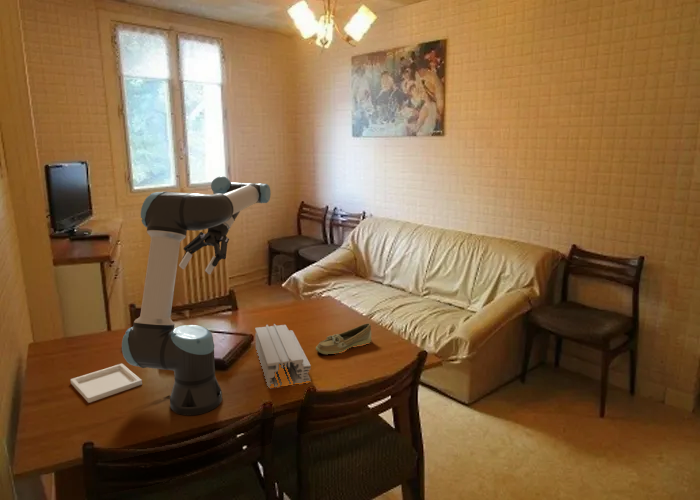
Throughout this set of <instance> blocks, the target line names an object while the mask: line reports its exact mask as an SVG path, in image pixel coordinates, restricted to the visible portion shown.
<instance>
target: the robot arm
mask: <svg viewBox="0 0 700 500" xmlns="http://www.w3.org/2000/svg"><path fill="white" fill-rule="evenodd" d="M210 188H211V191H212V193H213V194H208V193H196V192H178V191H177V192H176V191H156V192H155V191H154V192H152V193H150V194H149V195H147V197H146V198H145V199H144V201H143V203H142V205H141V209H140V218H141V223H142V224H143V226H144V227H145V228H146V233H147V235H148V236H149V238H150V243H149V251H148V258H147V266H146V271H145V272H146V274H145V280H144V287H143V294H142V299H141V300H142V302H141V307H140V316H139V317H138V318H135V320H134V321H133V326H132V327H129V328H127V329H126V331H125V334H124V335H123V337H122V340H121V352H122V356H123V358H124V359H125V361H126V363H128V364H129V365H131V366H134V367H139V368H141V369H145V368H146V369H155V370H156V369H157V370H163V371H164V370H165V371H173V372H174V373H173V375H174V382H173V387H172V390H171V393H170V397H169V404H170V405H169V407H170V409H171V411H173V412H174V413H175V414H179V415H182V416H197V415H202V414H205V413H209V412H211V411H213V410H215V409H216V408H217V407H218V406H220V405H221V403H222V401H223V392H222V389H221V387H220V384H219V382H218V379H217V377H216V368H215V343H214V336H213V333H212V332H211V330H210V329H208V328H207V327H204V326H202V325H197V324H188V325H185V324H183V325H179V326H177V327H175V326H176V325H175V322H174V321H173V320H172V319H171V315H172V308H173V307H172V306H173V301H174V292H175V285H176V276H177V272H178V271H177V270H178V269H177V268H178V266H179V268H181V269H182V270H185V269H186V267H187V266H188V264H189V262H190V260H191V259H192V257H193V254H194V253H196V252H198V251H199V250H200V249H203V248H204V247H207V246H209V247H210V246H211V247H213V250H214V255H212V258H211V260H210V261H209V262H208V264H207V266H206V267H205V269H204V271H205V273H207V274H208V275H210V276H211V274H212V272H213V271H214V269H215V267H217V266H218V264H219V262H220V261H221V260H226V258H227V249H228V244H229V241H230V238H229V237H228V236H227V235H228V233H229V231H230V229H231V228H232V226H233V224H234V223H235V221H236V219H237V217H239V214H240V212H241V211H243V210H245V209H247V208H250V207H252V206H253V205H255V204H267V203H269V201H270V199H271V193H272V192H271V187H270V185H269V184H268V183H261V182H259V183H256V182H234V181H231V180H230V179H229V178H228V177H226V176H221V175H220V176H216V177H215V178H214V179H213V180H212V181H211V184H210ZM204 230H207V233H204V232H203V231H204ZM188 231H195V232H196V231H200V232H199V233H198V235H197V236H195V237H194V238H193V239H192V240H191V241H190V242H189V243H188V244H186V245H185V246H184V247H183V250H184V251H185V253H184V255H183V256H182V259H181V261H180V262H179V264H178V261H179V255H180V248H181V247H180V246H181V242H182V241H183V240H184V239H186V238H187V232H188Z"/></svg>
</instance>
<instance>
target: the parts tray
mask: <svg viewBox="0 0 700 500" xmlns="http://www.w3.org/2000/svg"><path fill="white" fill-rule="evenodd" d="M70 385H72V387H74V389H75V390H76V391H77V392H78V393H79V394H80V395H81V396H82V397H83V399H84V400H85V401H86V402H87V403H88V404H89V403H90V404H91V403H93V402H95V401H100V400H101V399H104V398H107V397H109V396H113V395H115V394H119V393H121V392H124V391H127V390H130V389H134V388H135V387H138V386H141V385H143V379H142V378H140V377H139V376H138V375H136V374H135V373H134V372H133V371H132V370H130V368H128V367H127V366H126V365H125V364H124V363H118V364H115V365H113V366H109V367H106V368H104V369H99V370H95V371H93V372H90V373H86V374H83V375H80V376H77V377H73V378H70Z"/></svg>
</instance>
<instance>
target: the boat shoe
mask: <svg viewBox="0 0 700 500" xmlns="http://www.w3.org/2000/svg"><path fill="white" fill-rule="evenodd" d="M371 341H372V325H371V323H368V322H367V323H363V324H361V325H359V326H356V327H354V328H353V327H352V328H351V329H348V330H346V331H343V332H341V333H334V334H332V335H328V336H326V339H324V340H321V341H320V342H319V343H318V344H317V345H316V346H315V351H316V352H318V353H319V354H322V355H324V356H325V355H326V356H329V355H328V354H334V353H339V352H342V351H344V350H346V349H348V348H350V347H353V346H357V345H362V344H366V343H370V342H371ZM372 342H373V341H372ZM372 342H371V343H372ZM371 343H370V344H371ZM350 349H351V348H350ZM348 350H349V349H348Z"/></svg>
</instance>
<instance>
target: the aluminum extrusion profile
mask: <svg viewBox="0 0 700 500" xmlns="http://www.w3.org/2000/svg"><path fill="white" fill-rule="evenodd" d="M254 330H255V350H257V351H256V354H257V353H258V354H257V357H258V356H259V358H258V360H260V361H259V364H260V363H261V364H260V367H261V366H262V367H261V370H262V369H263V371H262V373H263V372H264V374H263V377H264V376H265V377H264V379H266V380H265V382H267V383H266V386H268V387H269V388H270V386H271V384H274V387H277V386H278V383H277V380H276V378H275V372H276V374H277V377H278V380H279V383H280V386H281V385H282V382H281V379H280V377H279V374H278V370H279V364H280V365H281V368H283V369H284V371H285V374H286V376H287V379H288V381H289V384H291V382H290V380H289V377H288V375H287V372H286V370H285V368H286V367H287V369H288V372H289V374H290V377H291V379H292V381H293V384H295V383H302V382H306V381H310V382H311V377H310V375H309V373H310V370H312V368H311V367H312V365H311V364H310V361H309V360H308V357H307V356H306V354H305V351H304V350H303V347H302V346H301V344H300V342H299V340H298V338H297V336H296V334H295V332H294V330H291V329H290V330H289V328H288V327H287V325H286V324H280V325H276V324H275V323H273V325H270V326H269V324H266V325H265V326H259V327H255V328H254ZM283 364H284V365H283ZM284 366H285V367H284ZM268 387H267V388H268ZM277 388H278V387H277ZM270 389H271V388H270Z"/></svg>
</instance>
